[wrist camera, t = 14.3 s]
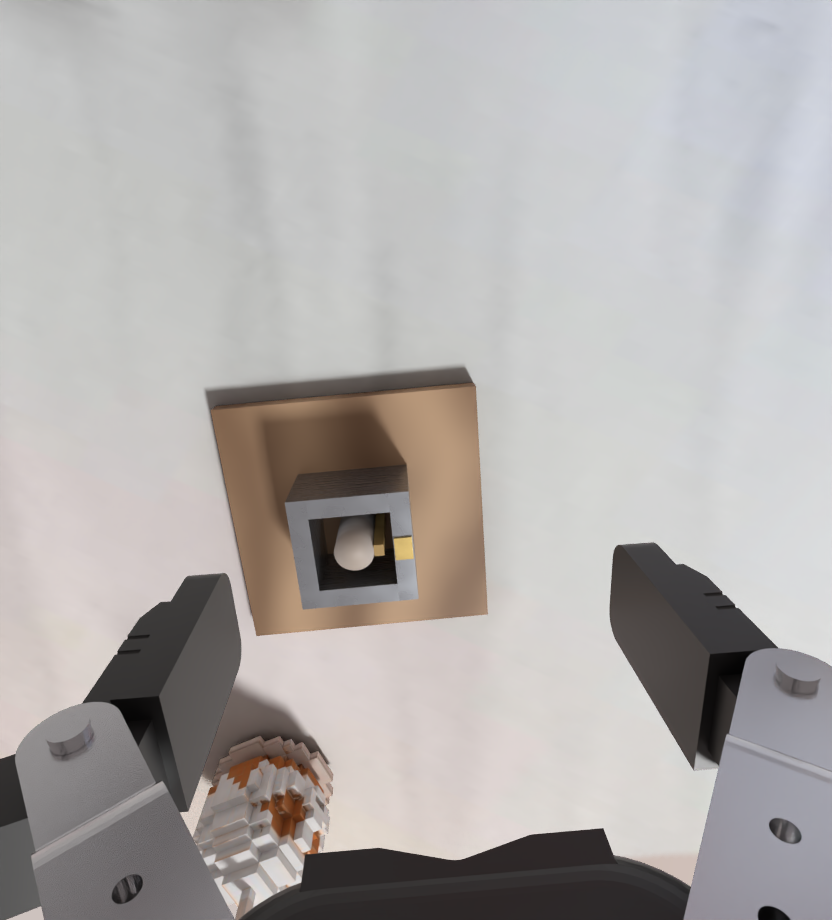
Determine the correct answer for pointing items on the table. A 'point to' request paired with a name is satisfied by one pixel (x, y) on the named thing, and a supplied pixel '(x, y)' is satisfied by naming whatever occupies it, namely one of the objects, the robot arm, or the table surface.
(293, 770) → the decorative ornament
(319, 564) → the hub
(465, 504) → the tan square baseplate
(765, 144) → the table surface
